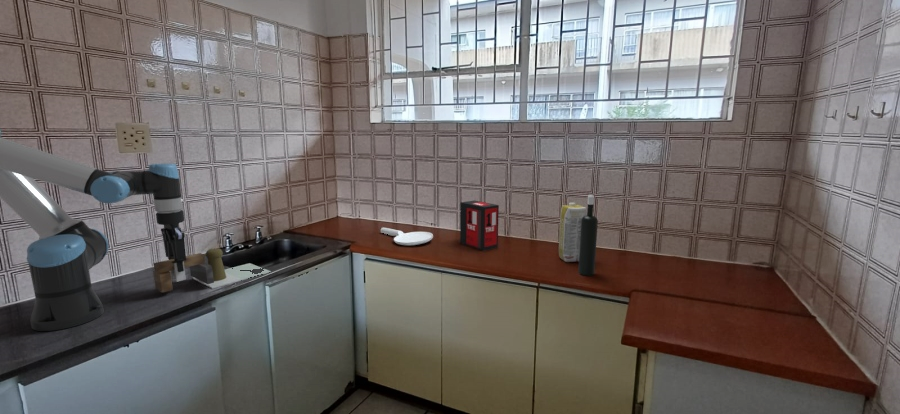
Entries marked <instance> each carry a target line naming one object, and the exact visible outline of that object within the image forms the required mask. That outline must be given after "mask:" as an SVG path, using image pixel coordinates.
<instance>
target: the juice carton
mask: <svg viewBox="0 0 900 414" xmlns="http://www.w3.org/2000/svg"><path fill="white" fill-rule="evenodd" d="M586 215H587V207H586V206H583V205H580V204H576V202H569V203H568V205H564V204H563V205H561V211H560V221H559V237H558V238H559V239H558V256H559V258H560V259H561V260H562V261H563V262H565V263H570V262H571V263H573V262H579V252H580V236H581V220H582V218H583V217H584V216H586Z"/></svg>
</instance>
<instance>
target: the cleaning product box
mask: <svg viewBox="0 0 900 414" xmlns="http://www.w3.org/2000/svg"><path fill="white" fill-rule="evenodd" d="M459 206H460V208H459V210H460V211H459V213H460V214H459V215H460V216H459V217H460V220H459V221H460V224H459V225H460V229H459V231H460V233H459V241H460V242H459V244H462V245H464V246H466V247H470V248H474V249H476V250H480V251H483V252H484V251H489V250H493V249H497V248H498V247H499V206H500V205H499V204H494V203H490V202H485V201H480V200H469V201H460V204H459Z"/></svg>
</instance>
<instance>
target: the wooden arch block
mask: <svg viewBox="0 0 900 414" xmlns="http://www.w3.org/2000/svg"><path fill="white" fill-rule="evenodd" d="M173 261H174V259H170V260H169V259H166V260H162V261H157V262H153V268H154V270H153V279H154V285H155V289H156V290H157V291H159V292H161V293H166V292H170V291H173V290H174V289H173V282H172V280H173V279H172V277H171V271H172V270H174V264H173V263H172V262H173ZM188 267H189V271H190V273H189V274H190V276H191V277H192V278H193V277H194V278H196V279H198V280H200V281H202V282H204V283H206V284H211V283H214V279H213V271H212V266H211V265H209V264H208V262H207V263H206V260H205V254H203V253H201V252H199V253H195V254H190V255H186V260H185V261H184V268H188Z"/></svg>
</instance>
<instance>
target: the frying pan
mask: <svg viewBox="0 0 900 414" xmlns="http://www.w3.org/2000/svg"><path fill="white" fill-rule="evenodd" d="M380 233H381V234H382V233H384V234H383V235H387V234H388V236H390V237H391V236H392V237H393V242H394V243H396V244H397V245H401V246H416V245H422V244H425V243H428V242H430V241H431V240H432V239H433V238H434V235H433V233H432V232H429V231H411V232H406V233H405V232H403V231H402V230H397V229H393V228H389V227H383V226H382V227H381V229H380Z"/></svg>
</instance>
